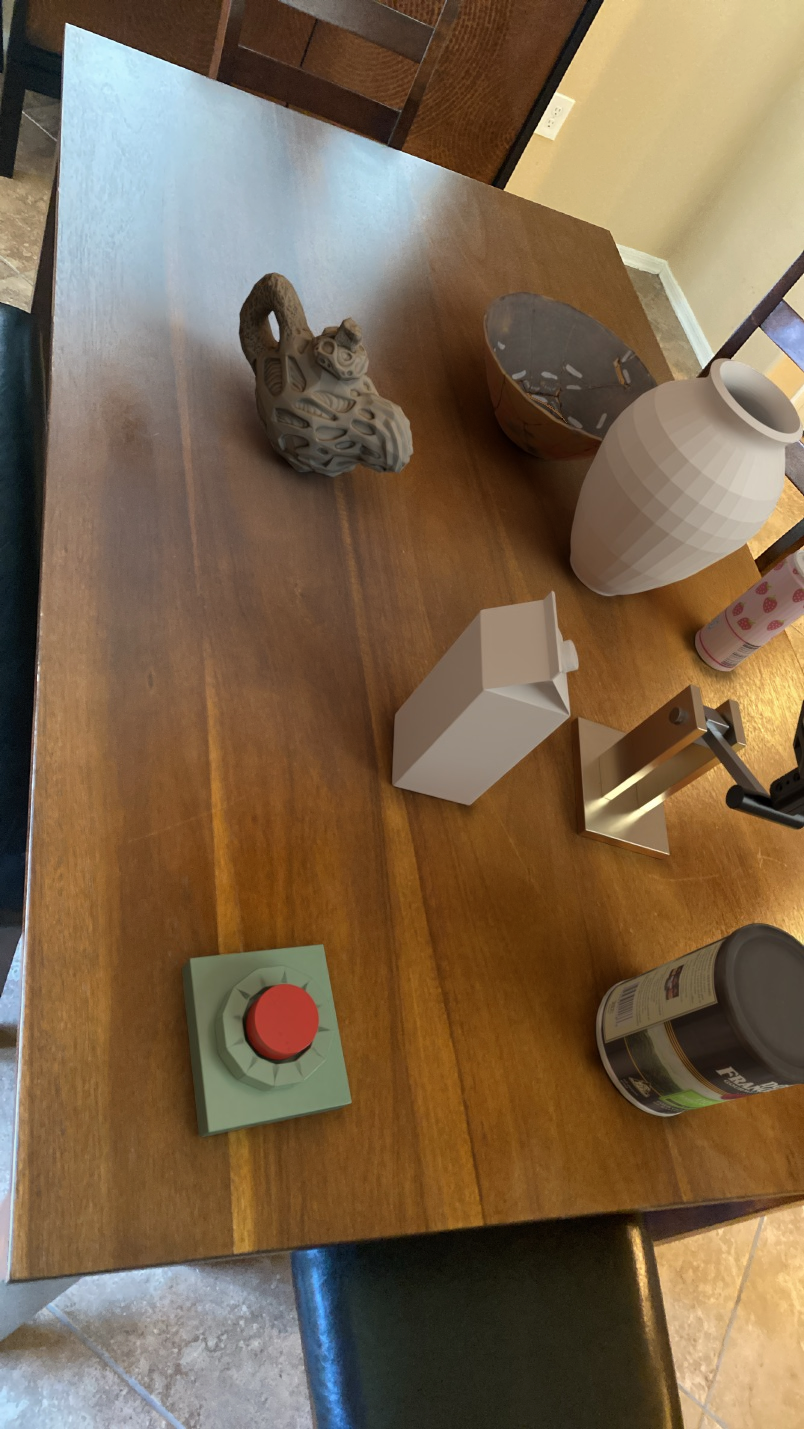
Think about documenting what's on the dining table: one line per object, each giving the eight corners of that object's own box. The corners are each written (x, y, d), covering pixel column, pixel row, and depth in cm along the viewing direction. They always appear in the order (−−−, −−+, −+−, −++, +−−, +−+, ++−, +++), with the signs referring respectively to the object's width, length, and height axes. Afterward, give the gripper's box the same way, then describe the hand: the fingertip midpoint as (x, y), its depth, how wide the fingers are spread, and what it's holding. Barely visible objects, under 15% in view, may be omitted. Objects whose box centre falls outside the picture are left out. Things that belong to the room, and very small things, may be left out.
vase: (577, 644, 89) (755, 469, 70) (502, 511, 95) (647, 318, 76) (687, 627, 99) (868, 471, 80) (612, 508, 105) (764, 336, 86)
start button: (314, 1054, 53) (324, 1047, 51) (250, 1065, 51) (259, 1058, 49) (303, 987, 54) (312, 980, 53) (241, 995, 52) (249, 988, 51)
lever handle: (795, 838, 63) (815, 813, 62) (729, 817, 61) (750, 791, 60) (716, 738, 74) (732, 715, 73) (659, 717, 72) (675, 694, 71)
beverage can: (706, 624, 101) (806, 540, 90) (740, 661, 100) (845, 581, 89) (684, 641, 97) (785, 556, 86) (719, 680, 96) (826, 599, 85)
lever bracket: (661, 859, 78) (775, 793, 68) (577, 835, 76) (683, 761, 65) (647, 749, 85) (749, 673, 75) (570, 722, 83) (665, 640, 72)
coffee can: (715, 1119, 67) (867, 1086, 56) (606, 1115, 63) (746, 1078, 52) (687, 984, 72) (820, 930, 62) (585, 972, 69) (708, 913, 58)
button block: (339, 1109, 55) (363, 1098, 52) (198, 1138, 51) (216, 1128, 48) (312, 953, 60) (333, 935, 57) (181, 967, 55) (196, 949, 52)
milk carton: (390, 787, 70) (513, 656, 55) (393, 714, 74) (509, 574, 59) (468, 807, 72) (605, 686, 58) (467, 735, 76) (595, 606, 62)
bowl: (546, 357, 118) (590, 293, 110) (650, 494, 111) (704, 436, 103) (405, 357, 103) (444, 283, 95) (515, 517, 96) (566, 451, 88)
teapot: (405, 497, 89) (476, 381, 78) (339, 542, 82) (408, 420, 70) (256, 360, 90) (304, 226, 79) (177, 391, 83) (218, 248, 71)
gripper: (949, 686, 44) (712, 825, 57) (1117, 758, 48) (861, 873, 61) (908, 579, 48) (697, 731, 61) (1066, 654, 52) (836, 781, 65)
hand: (779, 802), depth 61 cm, fingers closed
